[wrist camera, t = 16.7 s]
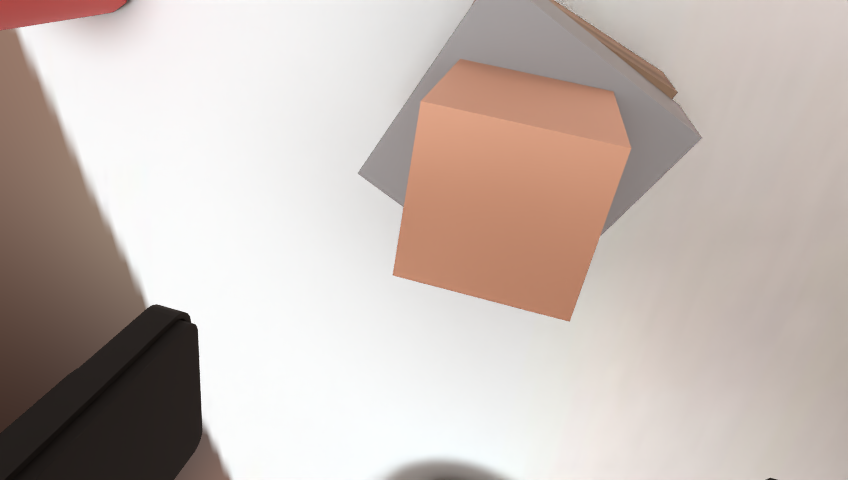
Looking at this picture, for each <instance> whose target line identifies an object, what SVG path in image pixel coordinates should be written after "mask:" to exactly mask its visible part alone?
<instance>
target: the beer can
mask: <svg viewBox="0 0 848 480" xmlns="http://www.w3.org/2000/svg"><path fill="white" fill-rule="evenodd" d="M126 2H127V0H0V30H6V29H12V28H19V27H25V26H31V25H37V24H44V23H50V22H56V21H62V20H69V19H75V18H81V17H87V16H94V15H100V14H106V13H111V12H114V11H116V10H117V9H118V8H120V7H121V6H123V5H124V4H125V3H126Z"/></svg>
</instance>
